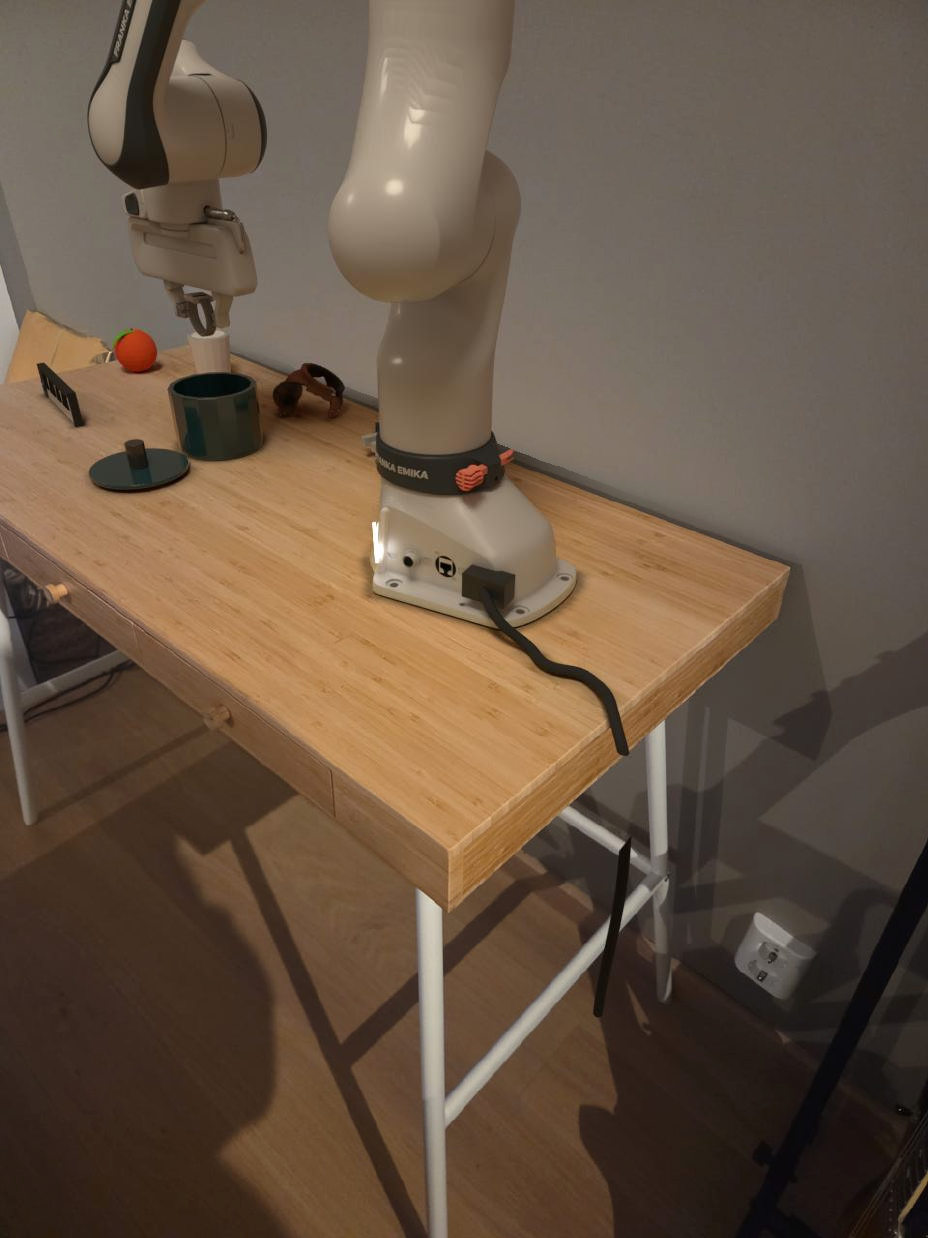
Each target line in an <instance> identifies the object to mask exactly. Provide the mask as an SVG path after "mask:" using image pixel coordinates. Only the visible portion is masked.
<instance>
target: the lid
mask: <svg viewBox="0 0 928 1238" xmlns="http://www.w3.org/2000/svg"><path fill="white" fill-rule="evenodd" d="M123 445H124V451H120V452H116V453H113V454H110V455H107V456H105V457H102V458H100V459H99V460H97V461H96V462H94V463H93V464H92V465H91V466H90V468H89V470H88V476H89V480H90V481H91V482H92V483H93V484H95V485H96V486H99V487H102V488H106V489H111V490H140V489H146V488H153V487H157V486H161V485H164V484H167V483H170V482H173V481H175V480H177V479H179V478H180V477H181V476H183V475H184V474H185V473H186V472H187V471H188V470H189V467H190V464H189V459H188V457H187V456H185V455H183V454H182V453H181V452H180V451H177V450H172V449H167V448H159V447H157V448H156V447H154V448H153V447H152V448H151V447H147V448H146V445H145V441H144V440H143V439H139V438H133V439H129V440H127V441H124V443H123Z"/></svg>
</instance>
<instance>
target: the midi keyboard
mask: <svg viewBox="0 0 928 1238" xmlns="http://www.w3.org/2000/svg"><path fill="white" fill-rule="evenodd" d="M36 369H37V371H38V375H39V377H40V383H41V387H42V391H43V394H44V396H45V397H46V398H48V399H50V400H51V401H52V402H53V404H55V406H57V407H58V409H59V410H61V412H62V413H63V414H64V415H65V416H66V417H67V418H68V419H69V420H70V421H71V422H72V423H73V424H74V427H75V428H79V427H83V426H84V420H83V417H82V412H81V409H80V404H79V401H78V397H77V396H78V395H77V393H76V391H75V390H73V388H72V387H71V386H69V384H67V383H66V382H65V381H64V380H63V379H62V378H61V377H60V376H59V375H58V374H57V373H56V372H55V371H53V369H52V368H51V367H50V366H48V365H47V364H46V363H45V362H37V363H36Z"/></svg>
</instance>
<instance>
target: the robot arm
mask: <svg viewBox="0 0 928 1238" xmlns="http://www.w3.org/2000/svg"><path fill="white" fill-rule="evenodd" d="M208 1H209V0H122V2H121V5H120V9H119V13H118V17H117V20H116V24H115V28H114V33H113V36H112V40H111V44H110V48H109V51H108V54H107V58H106V61H105V64H104V67H103V69H102V71H101V73H100V75H99V77H98V78H97V81H96V83H95V85H94V87H93V90H92V92H91V95H90V98H89V101H88V105H87V113H86V114H87V117H86V118H87V119H86V120H87V131H88V136H89V140H90V143H91V146H92V149H93V151H94V153H95V155H96V157H97V158H98V160H99V161H100V163H101V164H103V166H104V167H105V168H106V169H107V170H108V171H110V173H111V174H113V175H114V176H115V177H117V178H118V180H120V181H122V182H123V183H125V184H126V185H128V186H129V187H131V188H133V189H132V190H131V191H129V192H127V193H124V194H123V195H122V196H121V197H120V203H121V207H122V211H123V213H124V214H125V215H127V216H129V217H128V220H127V230H128V236H129V237H128V238H129V241H130V242H129V243H130V246H131V251H132V256H133V259H134V263H135V265H136V268H137V269H138V271H139V272H140V274H141V275H143V276H145V277H149V278H150V277H151V278H154V279H158V280H161V281H163V287H164V290H165V292H166V294H167V296H168V297H169V299H170V301H171V303H172V306H173V310H174V315H175V316H176V317H177V318H181V319H187V318H189V314H188V306H187V304H188V300H186V299H184V297H183V296H184V294H186V293H185V291H184V288H185V286H188V287H192V288H196V289H200V290H204V291H209V292H211V296H212V299H213V300H214V301H215V304H214V308H213V310H214V312H211V313H210V317H211V320H212V321H211V323H212V326H214V327H216V329H217V328H218V329H220V330H223V329H225V328H229V327H230V325H231V320H230V311H231V309H232V304H233V301H234V297H242V296H246V295H251V294H254V293H255V292H256V290H257V287H258V284H259V283H258V276H257V269H256V264H255V259H254V254H253V250H252V245H251V242H250V239H249V236H248V234H247V232H246V230H245V226H244V223H243V222H242V221H241V219H240V218H239V217H238V216H237V215H236V213H235V211H233V210H231V209H226V208H225V209H224V208H223V207H224V206H223V200H222V191H221V186H220V185H221V184H220V179H228V178H229V179H230V178H238V177H243V176H246V175H248V174H252V173H254V172H255V171H256V170H257V169H258V168H259V166H260V165H261V163H262V161H263V160H264V157H265V154H266V150H267V145H268V127H267V120H266V115H265V112H264V110H263V107H262V104H261V103H260V101H259V99H258V97H257V96H256V94H255V92H254V91H253V90H252V89H251V88H250V87H249V86H248V84H246V83H245V82H244V81H243V80H241V79H237V78H233V77H231V76H229V75H227V74H225V73H223V72H221V71H219V70H218V69H216V68H214V67H213V66H211V65H210V64H209V63H207V61H206V60H204V59H203V57H202V55H201V54H200V51H199V49H198V47H197V45H196V44H195V43H194V42H192V41H191V40H189V39H186V38H184V36H185V32H186V29H187V27H188V24H189V23H190V21H191V19H192V18H193V16H194V15H195V14H196V12H197V11H198V10H200V8H201V7H202V6H203V5H204V4H206V3H207V2H208ZM515 6H516V0H368V37H367V38H368V43H367V53H366V65H365V73H364V74H365V75H364V80H363V81H364V82H363V86H362V93H361V99H360V104H359V111H358V116H357V122H356V127H355V132H354V138H353V143H352V146H351V147H352V148H351V153H350V158H349V163H348V167H347V171H346V173H345V176H344V179H343V181H342V183H341V185H340V187H339V188H338V191H337V193H336V194H335V196H334V198H333V200H332V203H331V206H330V210H329V214H328V221H327V237H328V243H329V248H330V252H331V255H332V257H333V261H334V263H335V265H336V267H337V269H338V270H339V272H340V273H341V275H342V276H343V278H344V279H345V280H346V281H347V282H348V284H349V285H350V286H351V287H353V289H354V290H356V291H357V292H359V293H360V294H361V295H363V296H365V297H366V298H369V299H371V300H374V301H377V302H381V303H387V304H388V303H390V307H389V313H388V317H387V321H386V326H385V329H384V332H383V335H382V337H381V339H380V343H379V345H378V349H377V353H376V379H377V397H378V398H377V402H378V405H377V406H378V422H379V427H380V430H379V431H378V433H377V435H376V450H375V453H374V455H375V456H374V457H375V462H376V471H377V473H378V475H380V488H379V489H380V490H379V501H378V504H379V505H378V514H377V522H376V521H375V522H374V521H373V522H372V532H373V533H372V534H373V545H372V549H371V552H370V555H369V564H370V567H371V569H372V571H373V573H374V574H373V576H372V585H371V586H372V587H371V589H372V592H373V593H375V594H377V595H379V596H382V597H387V598H390V599H392V600H396V601H400V602H404V603H407V604H410V605H413V606H417V607H420V608H424V609H427V610H431V611H434V612H438V613H441V614H445V615H447V616H451V617H455V618H458V619H461V620H464V621H468V622H471V623H475V624H478V625H482V626H485V627H489V628H493V629H497V630H500V631H501V632H502V633H503V634H504V635H505V636H506V637H508V638H509V639H510V640H511V641H513V642H514V643H515V644H517V645H518V646H519V647H520V648H521V649H522V650H524V651H525V652H526V653H527V654H528V655H529V657H530V658H531V659H532V660H533V662H534V663H535V664H536V665H537V666H538V667H540V668H541V669H543V670H545V671H547V672H549V673H551V674H555V675H560V676H565V677H571V678H575V679H579V680H581V681H583V682H584V683H585V684H586V685H588V686H589V687H590V688H592V689H593V690H594V691H595V692H596V694H598V696H599V697H600V698H601V701H602V702H603V704H604V707H605V711H606V714H607V719H608V723H609V727H610V731H611V734H612V738H613V741H614V745H615V750H616V753H617V754H618V755H620V756H621V757H628V756H629V755H630V749H629V748H630V747H629V745H628V741H627V738H626V733H625V729H624V727H623V722H622V719H621V714H620V711H619V706H618V704H617V701H616V698H615V695H614V694H613V692H612V691H611V689H610V688H609V686H608V685H607V684H606V683H605V682H603V680H601V679H600V678H599V677H598V676H596V675H595V674H593V673H592V672H591V671H589V670H587V669H585V668H582V667H579V666H576V665H571V664H565V663H559V662H556V661H553V660H550V659H548V658H547V657H546V656H545V655H544V654H543V653H542V651H541V650H540V649H539V648H538V647H537V646H536V644H535V643H533V642H532V641H531V640H530V639H529V638H528V637H526V636H525V635H524V634H522V633H521V632H520V631H519V630H518V629H516V627H520V626H523V625H527V624H529V623H531V622H533V621H536V620H538V619H540V618H542V617H543V616H545V615H546V614H548V613H549V612H551V611H552V610H554V609H555V608H556V607H558V606H559V605H560V604H561V603H563V602H564V601H565V600H566V599H567V598H568V597H569V596H570V595H571V593H572V592H573V591H574V588H575V586H576V584H577V567H576V566H575V565H573V564H572V563H570V562H569V561H567V560H564V559H563V558H560V556H557V543H556V536H555V531H554V528H553V526H552V524H551V522H550V520H549V519H548V518H547V517H546V516H544V515H543V514H542V512H540V511H539V510H538V508H537V507H536V506H535V505H534V504H533V503H532V502H531V500H529V499H528V497H527V496H525V494H524V493H523V492H522V491H521V490H520V489H519V487H517V486H516V485H515V483H513V481H512V480H511V479H510V478H509V477H508V476H507V475H506V467H505V465H506V464H509V463H510V462H511V461H513V460H514V457H511V456H512V455H513V453H514V452H515V449H514V448H511V449H508V450H506V451H505V452H503V453H501V451H500V448H499V444H498V441H497V437H496V436H495V433H494V432H493V429H492V426H493V423H492V422H493V397H494V395H493V393H494V373H495V371H494V370H495V369H494V368H495V357H496V348H497V340H498V334H499V329H500V323H501V318H502V314H503V308H504V303H505V298H506V292H507V284H508V280H509V274H510V273H509V272H510V265H511V259H512V251H513V243H514V239H515V235H516V233H517V229H518V226H519V222H520V219H521V212H522V197H521V191H520V187H519V184H518V181H517V179H516V177H515V174H514V173H513V171H512V170H511V169H510V167H509V166H508V165H507V163H506V162H505V161H503V159H501V158H500V157H499V156H498V155H496V154H494V153H493V152H491V151H490V150H488V149H487V147H488V143H489V137H490V133H491V128H492V124H493V118H494V115H495V110H496V107H497V103H498V100H499V96H500V92H501V88H502V86H503V83H504V80H505V78H506V77H507V74H508V71H509V68H510V63H511V58H512V49H513V48H512V46H513V32H514V21H515V8H516V7H515ZM189 319H190V318H189ZM376 523H377V524H376ZM632 837H633V835H630V836H629V837H628V838H627V840H626V841H625V843H624V844H622V846H621V847H620V849H619V850H618V858H617V868H616V869H617V870H616V878H615V886H614V894H613V900H612V907H611V913H610V918H609V923H608V928H607V934H606V939H605V943H604V948H603V953H602V958H601V962H600V968H599V972H598V976H597V978H598V979H597V983H596V988H595V995H594V1002H593V1008H592V1015H593V1016H594V1017H595V1018H598V1019H599V1018H602V1016H603V1015H604V1009H605V1003H606V997H607V992H608V986H609V981H610V976H611V971H612V967H613V961H614V957H615V953H616V948H617V944H618V940H619V939H618V938H619V935H620V934H619V933H620V930H621V924H622V920H623V915H624V910H625V904H626V897H627V890H628V884H629V876H630V865H631V854H632Z"/></svg>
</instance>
